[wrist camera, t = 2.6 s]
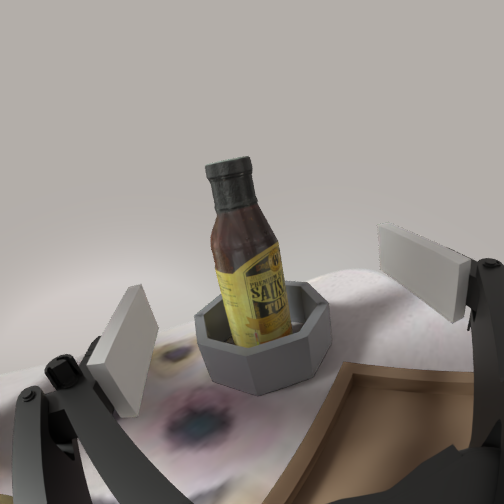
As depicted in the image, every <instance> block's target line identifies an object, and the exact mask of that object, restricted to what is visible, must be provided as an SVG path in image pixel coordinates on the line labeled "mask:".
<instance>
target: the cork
mask: <svg viewBox="0 0 504 504" xmlns="http://www.w3.org/2000/svg"><path fill="white" fill-rule="evenodd" d="M0 504H13V497H12V496H9V495H3V494H0Z"/></svg>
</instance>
